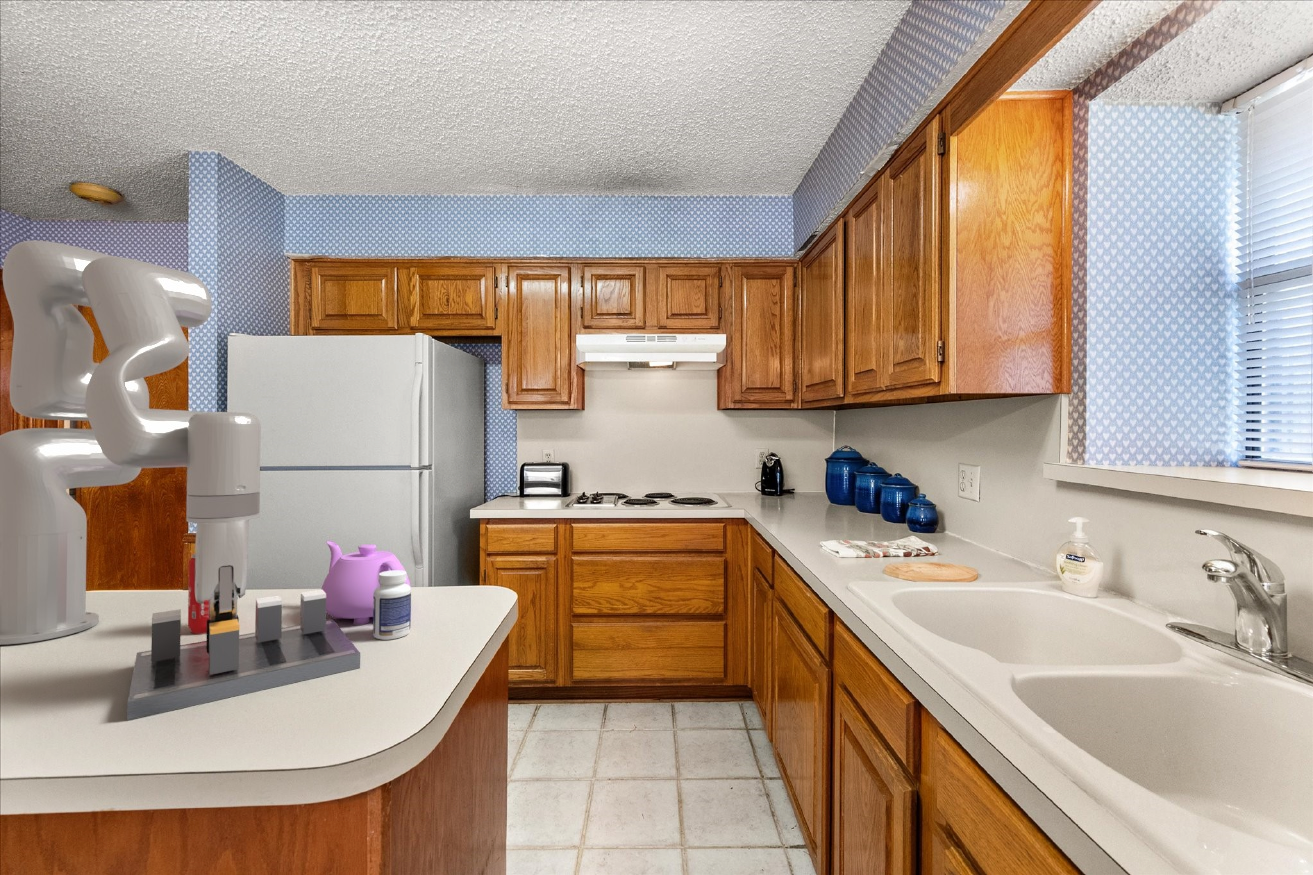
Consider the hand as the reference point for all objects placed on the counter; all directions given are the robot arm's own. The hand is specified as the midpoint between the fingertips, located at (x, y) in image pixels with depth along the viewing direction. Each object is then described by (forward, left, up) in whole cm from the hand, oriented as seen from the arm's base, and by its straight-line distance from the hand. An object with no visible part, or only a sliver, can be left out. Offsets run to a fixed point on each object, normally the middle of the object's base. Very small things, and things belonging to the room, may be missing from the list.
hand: (222, 649), depth 74 cm
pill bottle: (-3, +21, -4) cm, 22 cm away
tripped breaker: (+4, 0, -1) cm, 4 cm away
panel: (-1, +3, -3) cm, 5 cm away
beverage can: (-23, -1, -4) cm, 23 cm away
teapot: (-17, +20, -4) cm, 27 cm away
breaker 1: (-5, -6, -1) cm, 7 cm away
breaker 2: (-5, +5, -1) cm, 7 cm away
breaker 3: (-5, +11, -1) cm, 12 cm away
